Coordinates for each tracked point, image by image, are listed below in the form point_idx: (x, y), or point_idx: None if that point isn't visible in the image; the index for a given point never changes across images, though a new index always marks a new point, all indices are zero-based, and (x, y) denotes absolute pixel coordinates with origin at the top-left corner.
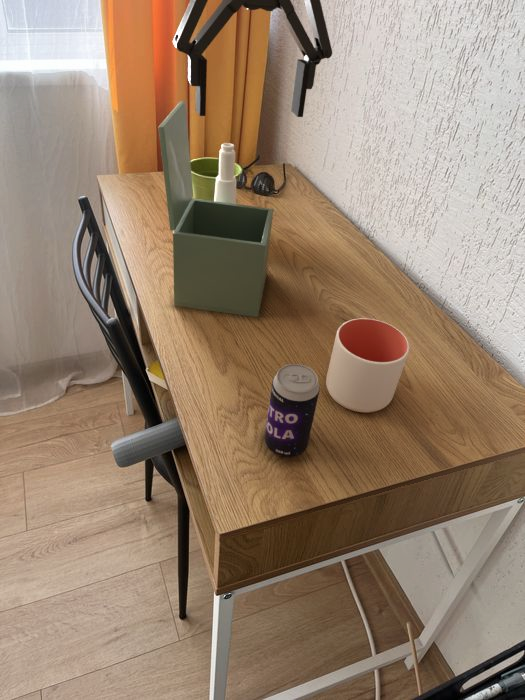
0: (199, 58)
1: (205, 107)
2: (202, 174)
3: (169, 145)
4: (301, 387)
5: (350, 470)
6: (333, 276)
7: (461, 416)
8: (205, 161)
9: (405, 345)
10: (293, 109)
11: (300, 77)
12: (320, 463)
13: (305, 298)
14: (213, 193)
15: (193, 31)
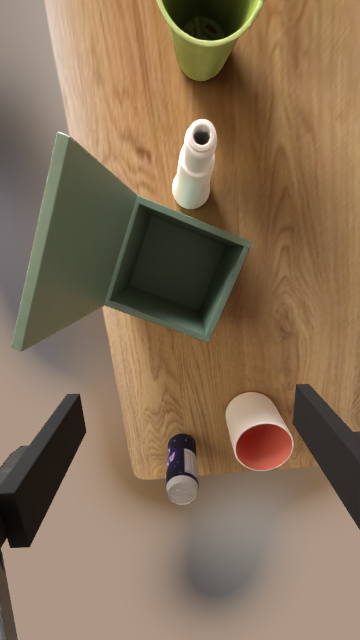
0: (5, 536)
1: (79, 444)
2: None
3: (52, 317)
4: (182, 500)
5: (214, 463)
6: (309, 251)
7: None
8: None
9: (288, 450)
10: (298, 400)
11: (338, 478)
12: (198, 456)
13: (259, 290)
14: (198, 55)
15: None
